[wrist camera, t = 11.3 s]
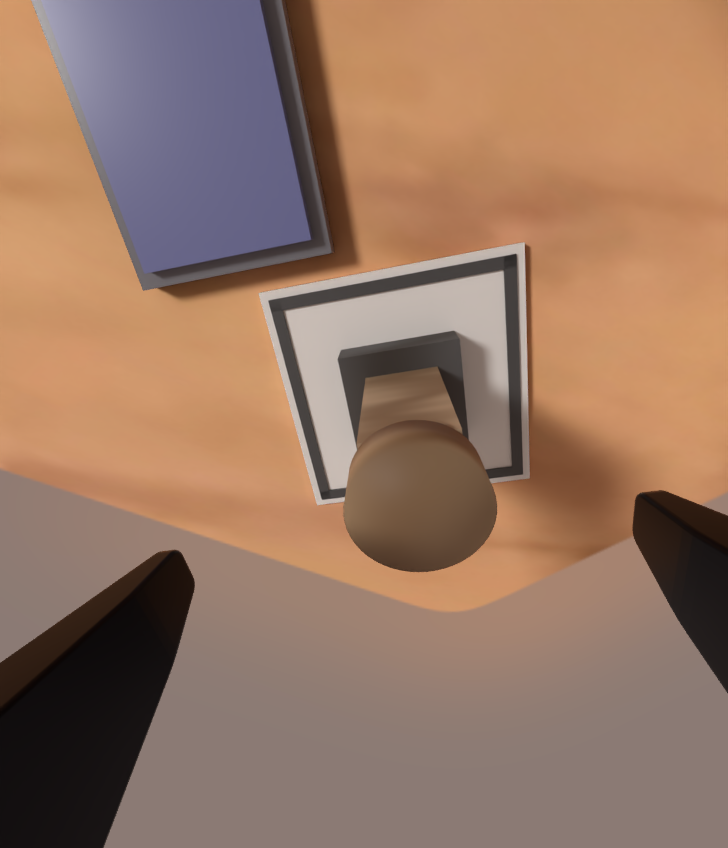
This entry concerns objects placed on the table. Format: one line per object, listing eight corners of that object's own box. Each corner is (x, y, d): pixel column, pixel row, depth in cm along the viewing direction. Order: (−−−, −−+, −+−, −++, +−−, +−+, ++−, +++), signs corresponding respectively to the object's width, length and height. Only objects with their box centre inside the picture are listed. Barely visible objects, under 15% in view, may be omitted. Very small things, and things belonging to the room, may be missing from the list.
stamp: (454, 330, 18) (513, 413, 10) (463, 433, 20) (519, 575, 12) (341, 349, 18) (304, 443, 10) (361, 447, 20) (345, 593, 12)
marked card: (522, 242, 16) (525, 242, 16) (528, 475, 21) (530, 479, 21) (260, 292, 18) (258, 293, 17) (318, 501, 22) (316, 506, 22)
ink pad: (259, -133, 13) (243, -178, 11) (334, 251, 17) (330, 253, 16) (26, -59, 13) (-14, -92, 12) (155, 287, 18) (136, 292, 17)
